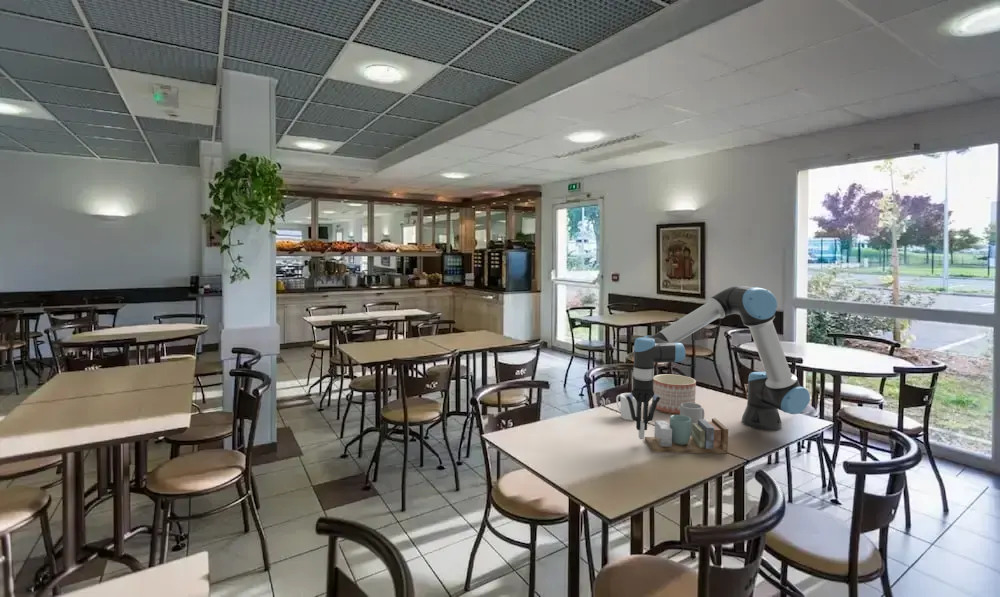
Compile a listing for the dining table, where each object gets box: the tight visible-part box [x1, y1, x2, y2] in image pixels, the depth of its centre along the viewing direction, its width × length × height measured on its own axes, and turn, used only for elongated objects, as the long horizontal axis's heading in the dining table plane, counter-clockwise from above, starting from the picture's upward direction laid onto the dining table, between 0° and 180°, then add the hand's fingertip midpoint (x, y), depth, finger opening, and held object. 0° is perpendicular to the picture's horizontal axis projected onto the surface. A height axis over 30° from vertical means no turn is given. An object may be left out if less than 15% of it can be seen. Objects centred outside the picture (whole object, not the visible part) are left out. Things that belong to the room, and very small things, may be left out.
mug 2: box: [680, 402, 705, 435], centre depth 206 cm, size 12×8×11 cm
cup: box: [668, 414, 692, 445], centre depth 188 cm, size 8×8×10 cm
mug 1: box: [615, 392, 637, 422], centre depth 221 cm, size 11×9×10 cm
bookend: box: [653, 420, 672, 447], centre depth 189 cm, size 4×9×7 cm, turn 178°
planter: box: [651, 373, 697, 416], centre depth 232 cm, size 19×19×15 cm
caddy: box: [644, 417, 729, 454], centre depth 189 cm, size 28×12×9 cm, turn 88°
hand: (641, 437), depth 189 cm, fingers closed
